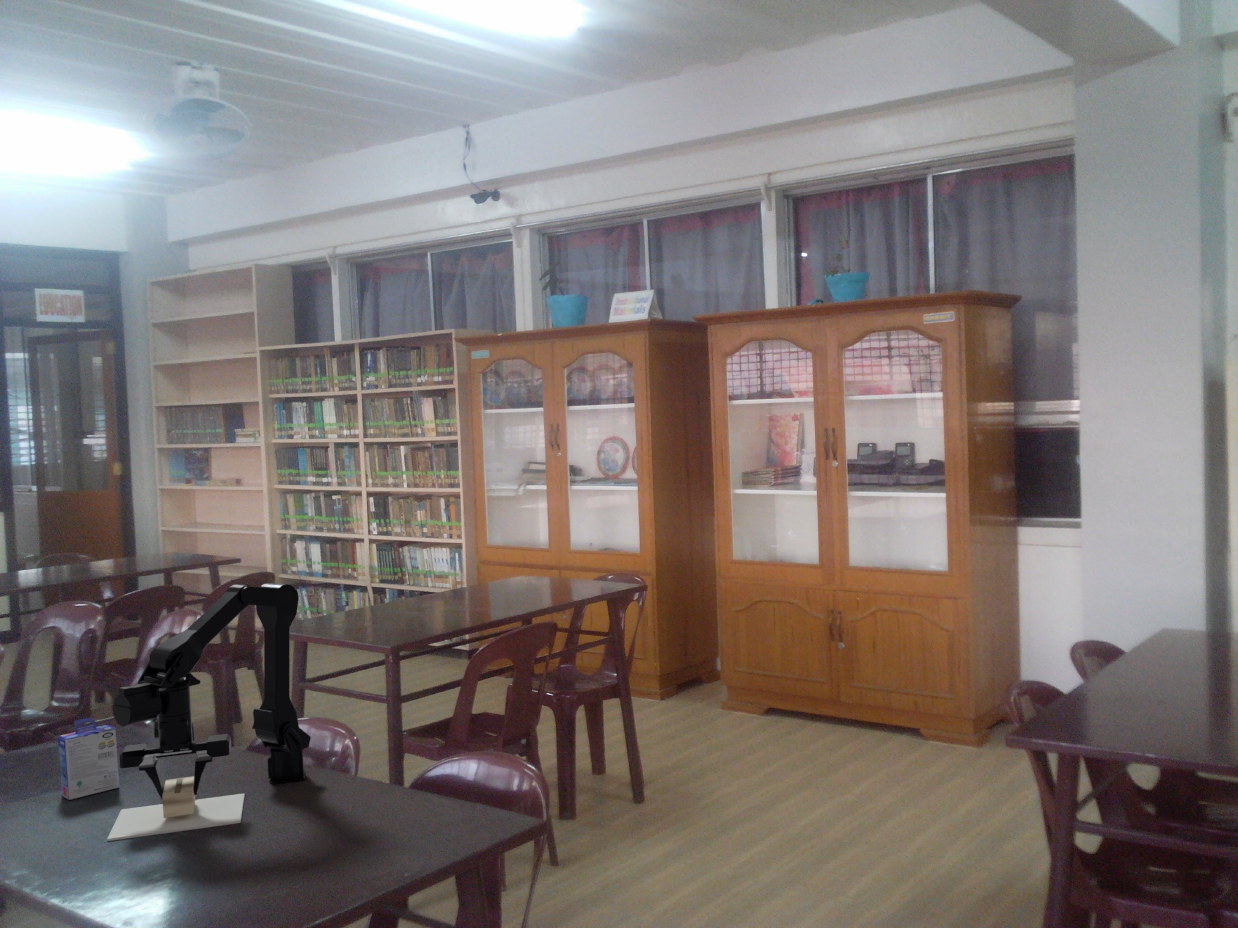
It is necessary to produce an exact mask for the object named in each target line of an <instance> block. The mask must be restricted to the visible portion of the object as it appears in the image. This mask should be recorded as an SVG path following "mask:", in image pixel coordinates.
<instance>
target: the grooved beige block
mask: <svg viewBox="0 0 1238 928" xmlns="http://www.w3.org/2000/svg"><path fill="white" fill-rule="evenodd" d="M163 786H164V791H163V795H162V799H161V800H162V804H163V816H164V818H167V817H174V816H181V815H187V814H193V812H194V804H195V800H196V795H194V775H192V776H186V777H185V776H184V777H177V778H172V779H171V778H170V779H166V780H165V783H164V785H163Z"/></svg>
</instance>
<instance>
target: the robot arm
mask: <svg viewBox="0 0 1238 928" xmlns="http://www.w3.org/2000/svg"><path fill="white" fill-rule="evenodd" d="M299 596H300V595H299V592H298V590H297V589H296V588H295V587H294V586H293V585H291V584H285V583H271V582H266V583H264V584H262V585H261V586H252V585H247V584H237V583H236V584H233V585H231V586H229V587H228V588H227V590H226V592H224V594H223V595H222V596H221V597H220V598H219V599H218V600H216V602H214V603H213V604H212V605H211V606H210V607H209V608H208V609H207V610H206V611H205V612H203V614H201V615H200V616H199V617H198V618H197V619H196V620H195V621H194V622H193V623H192V624H191V625H190V626H188V627H187V629H185V630H184V631H182V632H180V633H178V634H176V635H174V636H171V637H169V638H167V639H166V640H164V641H163V642H161V643H160V644H158V645H157V646H155V647H154V648H153V649H152V650H151V652H150V654H149V656H148V657H149V661H148V663H147V664H146V666H145V668H144V670H143V671H142V673H141V675H140V677H139V679H138V680H137V683H136V684H135V685H129V686H122V687H119V688H118V691H117V692H118V695H116V696H115V699H114V701H113V705H112V714H113V718H114V720H115V722H116V723H117V724H118V726H120V727H123V728H124V727H127V726H128V727H129V726H132V725H136V724H138V723H139V724H140V723H143V722H147V721H151V720H155V719H156V718H157V720H156V721H154V726H153V735H154V739H157V740H158V739H159V741H158V744H159V747H149V748H148V746H147V743H138V744H129V745H126V746H125V747H124V748H122V750H121V752H120V754H119V768H120V769H128V768H137V767H138V770H139V771H141V772H142V771H144V772H145V773H146V775H147V777H149V779H150V780H151V782H152V784H153V786H154V788H155V789H156V791H157V793H158V795H159V798H160V799H161V800H163V799H162V795H163V791H164V786H165V785H164V782H163V776H162V771H161V761H160V758H168V757H176V756H184V755H193V754H196V758H195V762H194V775H193V776H194V795H195V796H197V794H198V790H199V787H200V783H201V779H202V775H203V772H204V770H205V768H206V765H207V764H208V763H212V762H213V759H214V758H218V757H227V756H230V754H231V750H232V738H231V735H229V734H228V733H223V734H216V735H215V734H214V735H208V736H207V741H200V742H195V739H196V738H195V727H194V726H195V725H194V722H193V721H192V720H193V719H192V704H191V703H192V702H191V689H190V688H191V687H193V686H197V685H200V684H201V680H200V679H198V678H197V677H195V675H193V674H192V671H193V669H194V668H195V667H196V665H197V664H198V662H200V661H201V657H202V654H203V651H204V649H206V647H207V646H208V645H209V643H210V642H212V640H214V638H216V637H217V636H218V635H219V634H220V633H221V632H222V631H224V629H225V628H226V627H227V626H228V625H229V624H230V623H231V622H232V621H234V620H235V618H237V617H238V615H240V614H241V613H242V612H243V610H245V609H246V608H247V607H249V606H255V608H256V616H257V617H258V619H259V620H260V623H261V625H262V627H263V632H264V633H263V634H264V635H263V641H264V642H263V645H264V646H263V650H264V652H263V653H264V656H263V657H264V660H263V661H264V662H263V664H264V665H263V666H264V668H263V670H264V672H263V673H264V674H263V675H264V676H263V678H264V680H263V681H264V683H263V690H264V692H263V693H264V695H263V696H264V697H263V701H262V703H261V705H260V707H259V708H253V710H252V716H253V724H252V730H254V731H255V732H254V733H255V735H256V737H257V738H258V739H259V740H260V741H261V743H262V746H263V748H265V749H266V748H267V749H269V750H270V751H269V752H270V753H269V754H268V755H267V773H268V779H269V780H270V784H278V783H279V784H280V783H286V782H294V781H295V782H297V781H304V780H305V778H306V777H305V770H306V769H305V768H304V767H305V766H304V750H305V749H307V748H309V746H310V743H311V739H312V738H311V736H310V735H309V733H307V732H306V731H304V730H303V729H302V728H301V727H300V726H299V725H300V724H299V718H298V712H297V710H296V708H295V706H294V704H293V702H292V700H291V695H290V694H291V693H290V692H291V690H290V688H291V687H290V686H291V684H290V683H291V681H290V680H291V679H290V678H291V677H290V675H291V673H290V671H291V669H290V661H291V660H290V658H291V654H290V649H291V647H290V646H291V644H290V639H291V637H290V631H291V625H292V624H293V622H294V620H295V618H296V616H297V613H298V608H299V607H298V606H299V600H300V597H299ZM158 676H159V677H158Z"/></svg>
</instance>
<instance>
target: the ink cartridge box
mask: <svg viewBox="0 0 1238 928" xmlns="http://www.w3.org/2000/svg"><path fill="white" fill-rule="evenodd" d="M73 723H74V728H75V729H74V730H75V732H70V733H65V734H62V735H57V745H58V746H57V747H58V757H59V758H58V759H59V769H60V783H61V796H62V797H64V798H66V800H68V801H70V800H71V801H72V800H74V799H75V800H76V799H78V798H83V797H87V796H90V795H94V794H99V793H102V792H103V793H104V792H107V791H111V790H113V789H114V790H115V789H119V788H120V777H119V764H118V762H119V761H118V747H117V745H118V744H117V732H116V731H117V730H116V728H115V727H113V726H111V725H109V724H105V725H99V726H96V724H95V720H94V718H93V717H87V718H83V719H78V720H77V719H76V720H74V721H73ZM82 723H90V724H88V725H83V726H79V725H81V724H82Z"/></svg>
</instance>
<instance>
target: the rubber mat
mask: <svg viewBox="0 0 1238 928" xmlns="http://www.w3.org/2000/svg"><path fill="white" fill-rule="evenodd" d="M245 796H246V793H237V794H230V795H229V794H228V795H222V796H221V795H220V796H214V797H206V798H200V799H199V798H198V799H195V804H194V812H193V814H187V815H181V816H174V817H167V818H164V816H163V803H161V804H160V803H159V804H153V805H147V806H146V805H145V806H138V807H130V808H122V809H120V812H119V814H118V816H117V818H116V820H115V823H114V824H113V826H112V828H111V830H110V832H109V834H108V835H107V838H106V842H113V841H118V840H127V839H132V838H140V837H148V836H149V837H150V836H154V835H162V834H170V833H175V832H177V833H178V832H183V831H185V832H186V831H191V830H199V829H206V828H213V827H220V826H229V825H235V824H241V822H242V817H243V816H242V815H243V809H244V803H245Z"/></svg>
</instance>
